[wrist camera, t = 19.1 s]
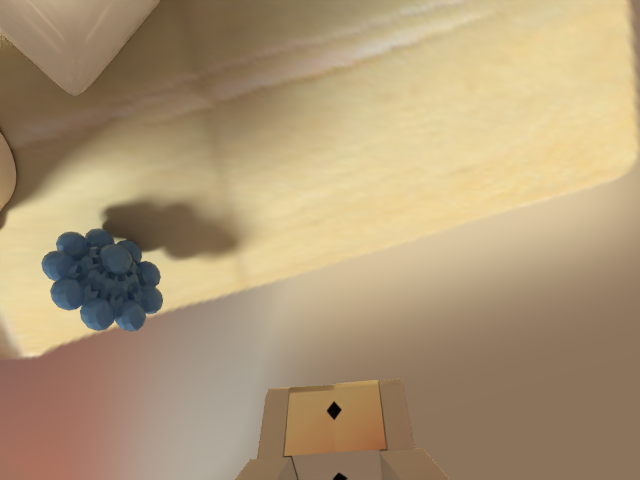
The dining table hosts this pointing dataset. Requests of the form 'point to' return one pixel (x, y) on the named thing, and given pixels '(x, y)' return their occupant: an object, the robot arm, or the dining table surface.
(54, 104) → the dining table surface
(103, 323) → the grapes
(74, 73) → the square plate
